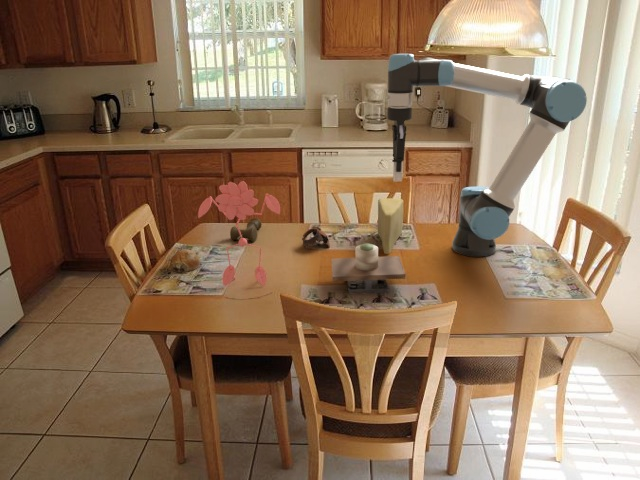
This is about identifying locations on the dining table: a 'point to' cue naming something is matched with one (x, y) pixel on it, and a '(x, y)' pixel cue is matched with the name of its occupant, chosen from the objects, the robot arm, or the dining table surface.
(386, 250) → the cheese
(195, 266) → the bread roll
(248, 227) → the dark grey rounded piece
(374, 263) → the panel with push button
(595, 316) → the dining table surface
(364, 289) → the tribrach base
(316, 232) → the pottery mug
